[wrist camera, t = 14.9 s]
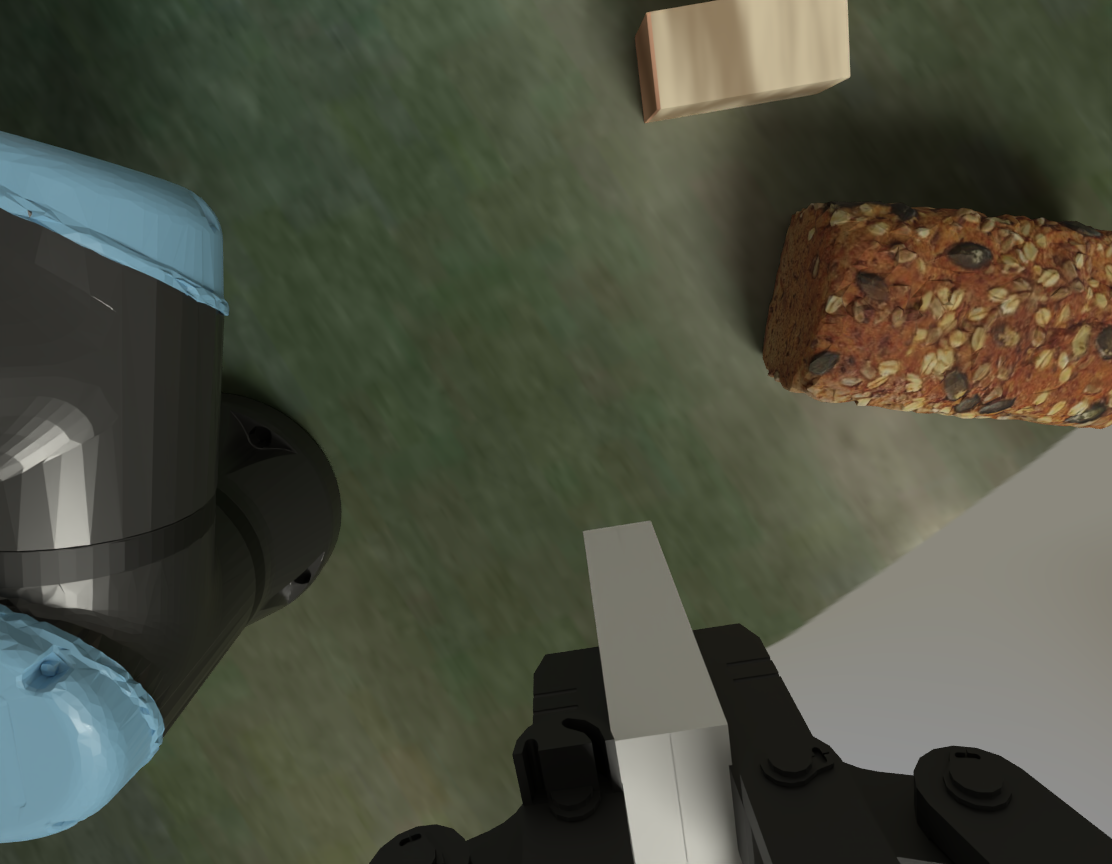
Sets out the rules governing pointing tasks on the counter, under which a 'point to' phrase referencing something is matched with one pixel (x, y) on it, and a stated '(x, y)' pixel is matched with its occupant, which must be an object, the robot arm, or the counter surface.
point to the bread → (945, 313)
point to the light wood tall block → (739, 54)
